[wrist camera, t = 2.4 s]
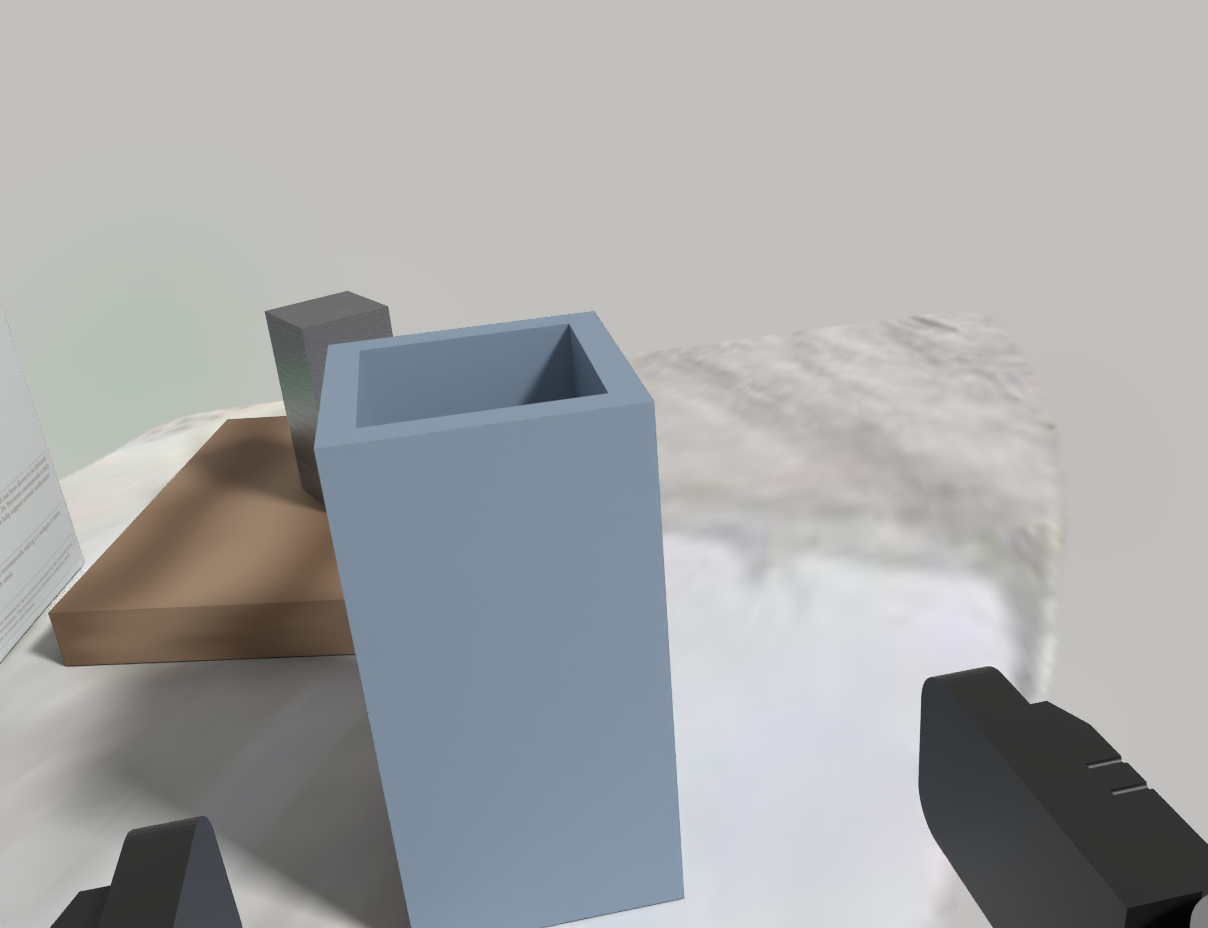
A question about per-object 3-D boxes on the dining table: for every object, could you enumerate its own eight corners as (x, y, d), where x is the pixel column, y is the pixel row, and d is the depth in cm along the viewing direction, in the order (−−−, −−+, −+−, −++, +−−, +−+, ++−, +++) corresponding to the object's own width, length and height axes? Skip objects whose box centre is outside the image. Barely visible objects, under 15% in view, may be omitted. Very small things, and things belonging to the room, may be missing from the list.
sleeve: (684, 898, 24) (654, 400, 20) (416, 953, 24) (313, 448, 19) (628, 733, 30) (594, 311, 25) (409, 773, 29) (328, 345, 24)
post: (281, 519, 39) (239, 332, 36) (318, 462, 44) (284, 292, 41) (406, 513, 39) (374, 324, 36) (431, 456, 43) (404, 284, 40)
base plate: (66, 665, 35) (48, 613, 34) (236, 459, 50) (227, 419, 49) (559, 645, 34) (553, 590, 33) (586, 441, 49) (582, 399, 48)
